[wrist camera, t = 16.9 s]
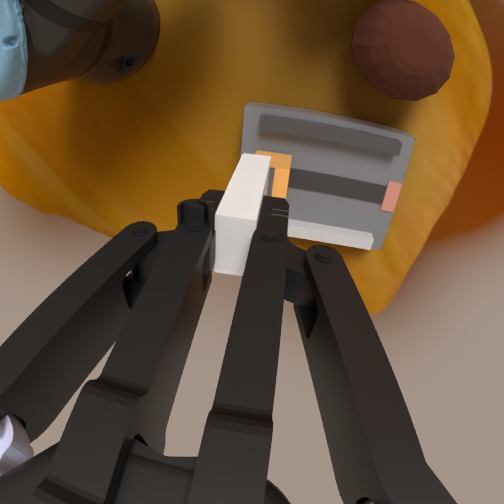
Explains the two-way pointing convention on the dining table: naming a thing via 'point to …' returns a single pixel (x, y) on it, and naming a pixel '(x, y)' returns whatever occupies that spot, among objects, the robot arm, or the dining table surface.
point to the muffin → (403, 49)
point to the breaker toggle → (277, 173)
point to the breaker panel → (333, 170)
